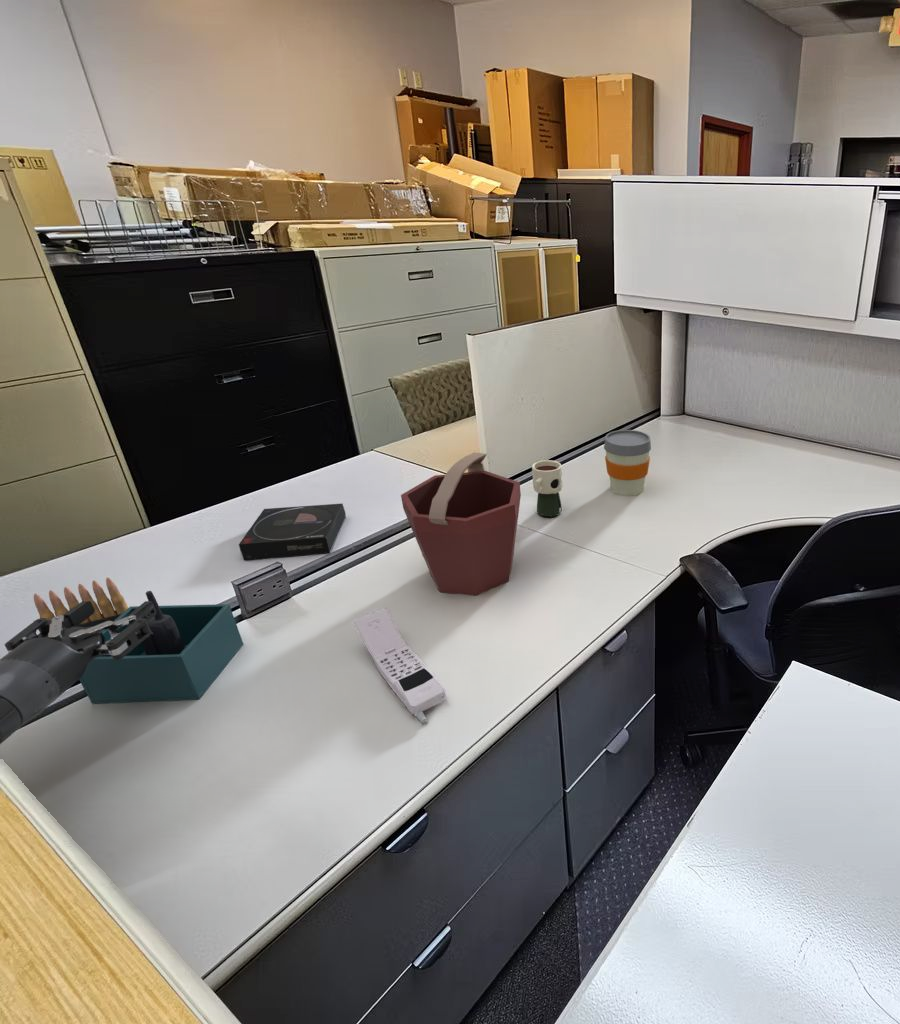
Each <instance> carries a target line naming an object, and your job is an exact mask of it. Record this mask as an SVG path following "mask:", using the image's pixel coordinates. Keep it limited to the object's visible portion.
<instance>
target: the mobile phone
mask: <svg viewBox="0 0 900 1024" xmlns="http://www.w3.org/2000/svg"><path fill="white" fill-rule="evenodd" d="M352 623H353V626H354V629H355V630H356V632H358V635H359V636H360V638H361V639H362V641H363V643H364V644H365V646H366V649H367V650H368V652H369V654H370V655H371V657H372V659H373V663H374V665H375V667H376V668H377V670H378V671H379V673H380V674H381V676H382V677H383V679H384V680H385V682H386V683H387V684H388V685H389V687H390V688H391V690H392V691H393V692H394V693H395V694H396V696H397V698H399V700H400V701H401V702H402V703H403V705H404V706H405V707H406V708H407V710H408V711H409V712H410V713H411V714H412V715H413V716H415V718H417V720H418V721H419V722H420V723H422V724H426V723H427V722H428V721H427V717H426V715H425V714H424V712H425V711H426V710H428V709H430V708H432V707H434V706H436V705H438V704H440V703H442V702H444V701H445V700H446V697H447V695H446V691H445V688H444V687H443V685H442V684H441V682H440V681H439V680H438V678H437V677H436V675H435V674H434V673H433V672H432V671H431V669H430V668H429V666H427V665H426V664H425V662H424V661H423V659H421V657H419V655H417V654H416V653H415V651H414V650H413V649H412V648H411V647H410V646H408V643H406V642H405V640H404V639H403V636H402V635H401V633H400V631H399V628H398V627H397V625H396V623H395V622H394V619H393V615H392V613H391V611H389V610H388V609H387V607H385V608H381V609H378V610H375V611H373V612H370V613H367V614H365V615H363V616H361V617H359V618H357V619H354V620H353V621H352Z"/></svg>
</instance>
